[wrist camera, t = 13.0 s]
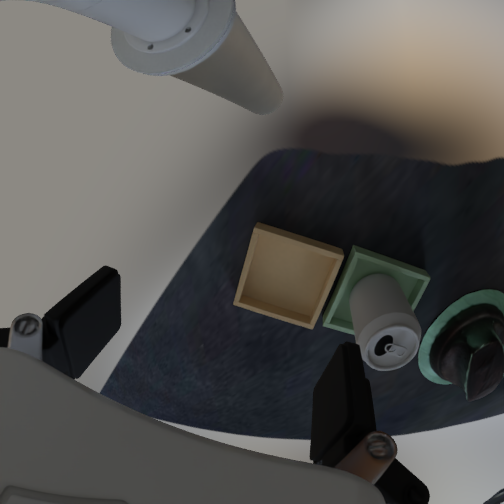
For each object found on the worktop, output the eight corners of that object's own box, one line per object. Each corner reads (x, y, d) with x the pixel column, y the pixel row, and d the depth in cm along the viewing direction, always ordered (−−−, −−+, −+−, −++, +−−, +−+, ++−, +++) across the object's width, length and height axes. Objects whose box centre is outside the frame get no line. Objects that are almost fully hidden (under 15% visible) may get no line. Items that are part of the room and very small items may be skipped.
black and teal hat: (398, 339, 39) (498, 260, 32) (420, 360, 50) (496, 302, 43) (436, 425, 28) (551, 337, 21) (448, 421, 39) (530, 360, 32)
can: (359, 264, 37) (376, 314, 26) (408, 277, 36) (437, 328, 25) (340, 311, 39) (347, 370, 28) (387, 322, 39) (405, 380, 28)
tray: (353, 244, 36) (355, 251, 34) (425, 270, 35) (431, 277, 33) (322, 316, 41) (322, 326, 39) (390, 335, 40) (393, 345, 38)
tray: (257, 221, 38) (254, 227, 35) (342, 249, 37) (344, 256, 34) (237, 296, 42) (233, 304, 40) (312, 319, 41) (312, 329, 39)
